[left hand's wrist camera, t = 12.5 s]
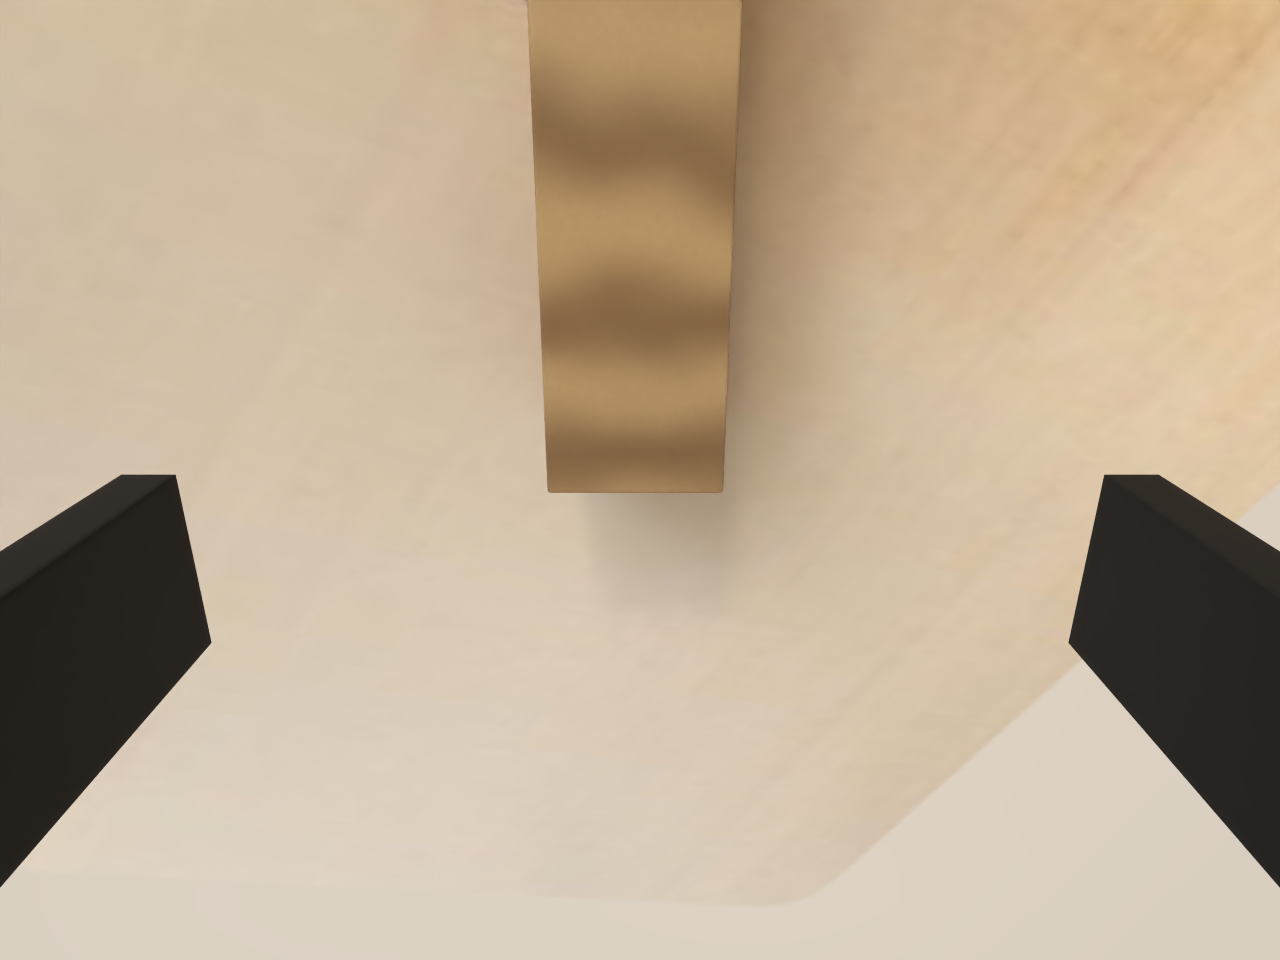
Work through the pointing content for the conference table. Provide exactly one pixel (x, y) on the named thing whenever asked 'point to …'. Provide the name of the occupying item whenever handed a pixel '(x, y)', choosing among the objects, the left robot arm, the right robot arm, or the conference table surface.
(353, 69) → the conference table surface
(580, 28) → the beam
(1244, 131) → the conference table surface
